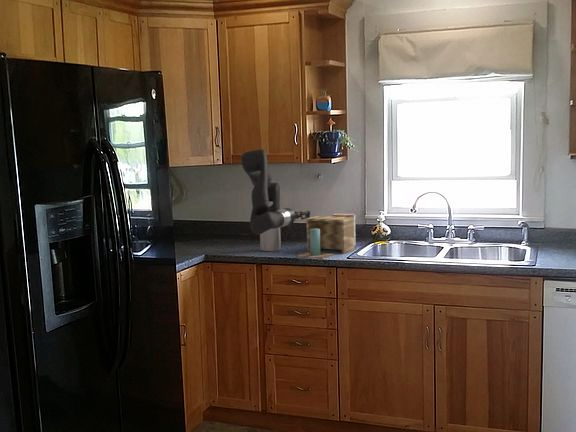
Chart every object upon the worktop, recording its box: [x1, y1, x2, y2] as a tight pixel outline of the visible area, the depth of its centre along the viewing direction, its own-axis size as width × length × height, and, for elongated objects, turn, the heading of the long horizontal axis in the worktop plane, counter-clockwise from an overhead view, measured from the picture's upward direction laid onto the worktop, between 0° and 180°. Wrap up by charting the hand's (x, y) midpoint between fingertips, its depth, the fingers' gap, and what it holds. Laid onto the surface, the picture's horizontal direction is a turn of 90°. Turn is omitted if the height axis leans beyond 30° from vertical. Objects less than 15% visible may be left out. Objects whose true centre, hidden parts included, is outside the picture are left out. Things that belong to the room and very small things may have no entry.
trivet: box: [295, 251, 335, 260], centre depth 330 cm, size 14×12×1 cm
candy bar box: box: [331, 213, 357, 248], centre depth 354 cm, size 11×5×16 cm, turn 74°
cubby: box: [305, 215, 355, 255], centre depth 342 cm, size 20×11×16 cm, turn 59°
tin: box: [309, 229, 321, 256], centre depth 329 cm, size 5×5×12 cm
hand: (300, 212), depth 318 cm, fingers open, 8 cm apart
